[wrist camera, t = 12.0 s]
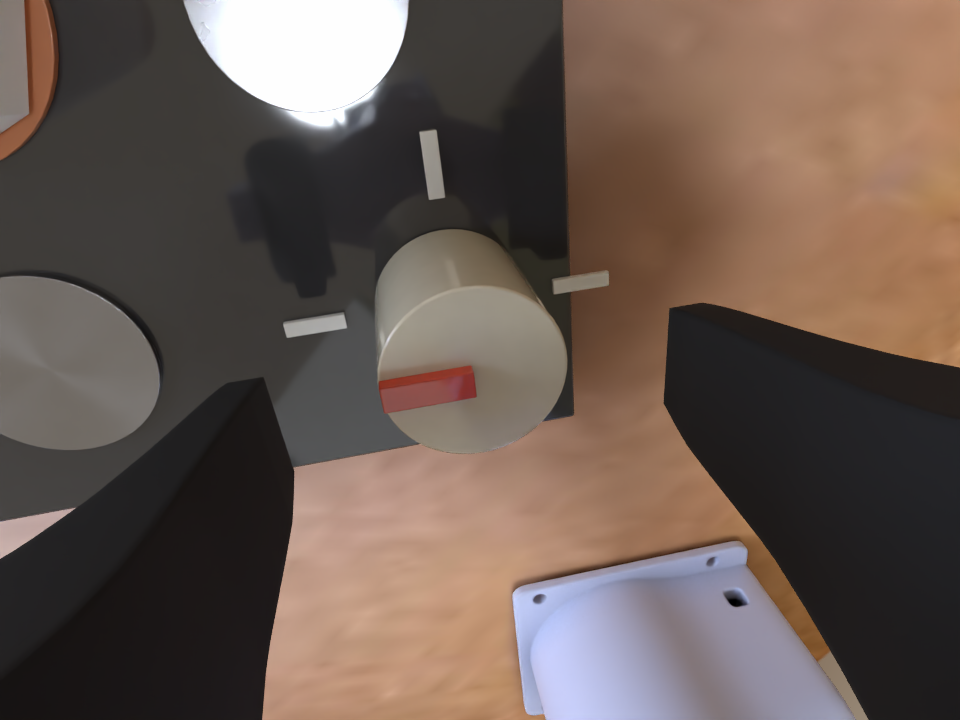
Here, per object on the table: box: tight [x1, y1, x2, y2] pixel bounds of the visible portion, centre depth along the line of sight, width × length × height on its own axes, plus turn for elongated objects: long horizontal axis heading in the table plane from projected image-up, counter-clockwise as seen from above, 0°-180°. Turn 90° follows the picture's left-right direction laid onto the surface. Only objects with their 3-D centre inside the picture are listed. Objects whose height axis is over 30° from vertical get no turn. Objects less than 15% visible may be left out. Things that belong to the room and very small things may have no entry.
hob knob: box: [374, 229, 567, 454], centre depth 13 cm, size 4×4×4 cm
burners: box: [0, 0, 409, 450], centre depth 12 cm, size 12×12×1 cm
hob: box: [0, 0, 609, 521], centre depth 13 cm, size 17×14×3 cm
